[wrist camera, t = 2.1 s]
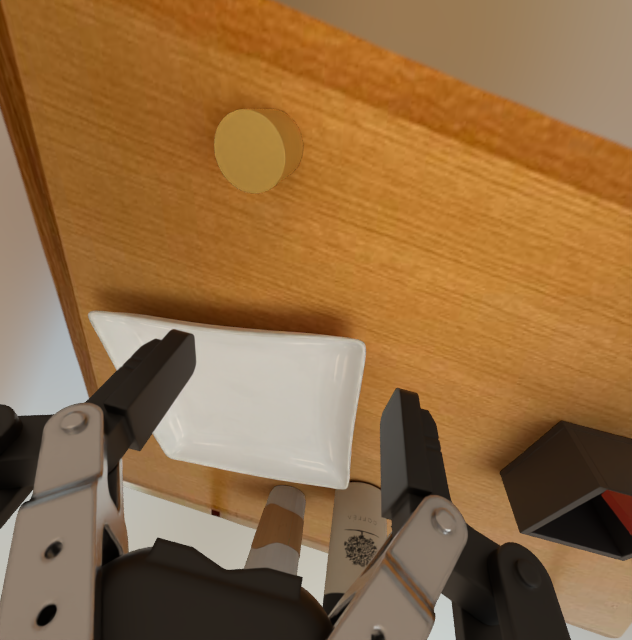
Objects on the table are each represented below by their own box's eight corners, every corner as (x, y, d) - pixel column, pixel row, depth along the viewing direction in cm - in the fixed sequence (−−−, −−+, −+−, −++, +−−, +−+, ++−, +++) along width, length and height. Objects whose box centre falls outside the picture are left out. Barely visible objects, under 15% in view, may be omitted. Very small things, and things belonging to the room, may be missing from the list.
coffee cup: (286, 508, 55) (261, 619, 43) (255, 486, 52) (219, 599, 40) (321, 501, 51) (304, 622, 39) (290, 477, 48) (261, 600, 36)
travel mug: (373, 509, 50) (372, 673, 35) (329, 495, 49) (309, 654, 35) (394, 490, 45) (402, 671, 31) (345, 474, 45) (330, 649, 30)
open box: (588, 495, 38) (623, 561, 32) (499, 472, 38) (519, 533, 33) (670, 449, 31) (733, 522, 25) (561, 420, 31) (600, 486, 26)
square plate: (108, 292, 31) (78, 312, 28) (369, 317, 28) (368, 343, 24) (177, 439, 47) (163, 463, 44) (349, 467, 43) (347, 495, 40)
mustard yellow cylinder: (287, 96, 19) (264, 93, 15) (312, 165, 21) (297, 178, 17) (234, 125, 20) (199, 129, 16) (262, 186, 22) (237, 203, 18)
